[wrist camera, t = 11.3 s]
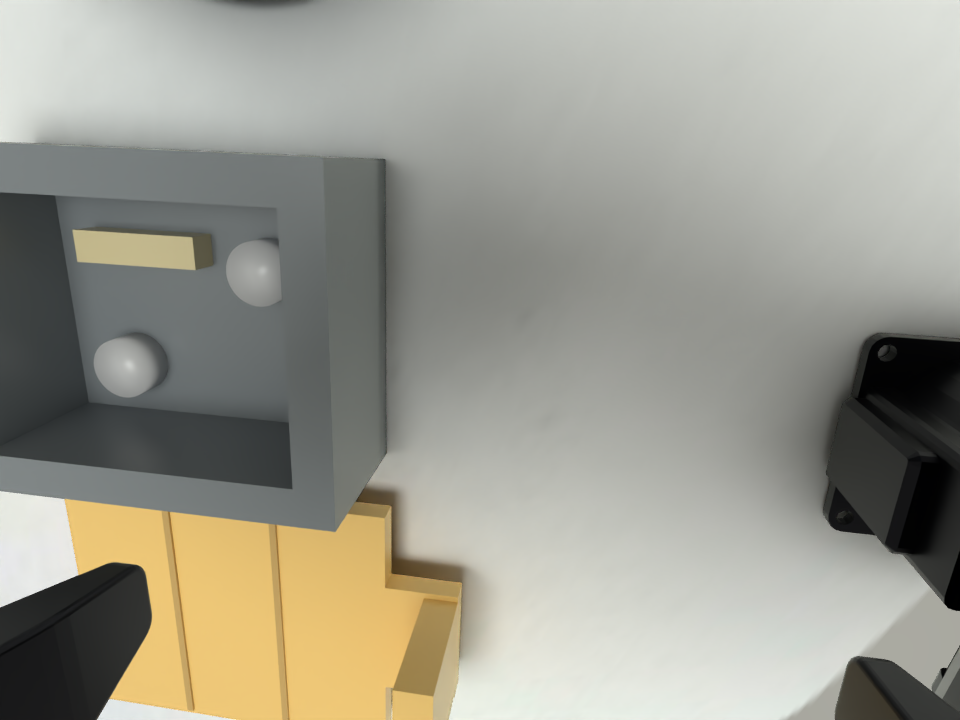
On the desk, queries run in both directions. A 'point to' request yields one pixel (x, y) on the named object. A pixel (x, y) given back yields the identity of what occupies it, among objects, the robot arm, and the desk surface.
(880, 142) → the desk surface
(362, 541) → the snap lid
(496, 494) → the desk surface
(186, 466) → the parts tub
